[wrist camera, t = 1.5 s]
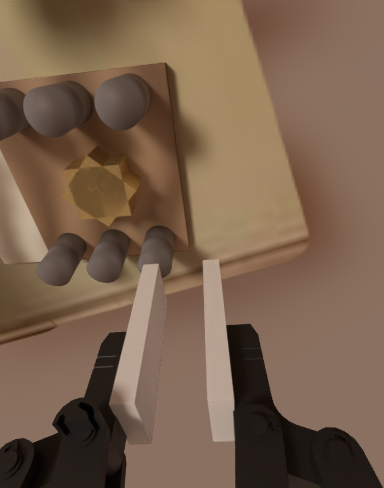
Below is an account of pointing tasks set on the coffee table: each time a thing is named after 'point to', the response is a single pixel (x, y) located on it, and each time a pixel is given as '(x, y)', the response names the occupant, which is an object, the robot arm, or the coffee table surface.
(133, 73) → the board
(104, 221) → the star-shaped block
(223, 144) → the coffee table surface
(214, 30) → the coffee table surface
